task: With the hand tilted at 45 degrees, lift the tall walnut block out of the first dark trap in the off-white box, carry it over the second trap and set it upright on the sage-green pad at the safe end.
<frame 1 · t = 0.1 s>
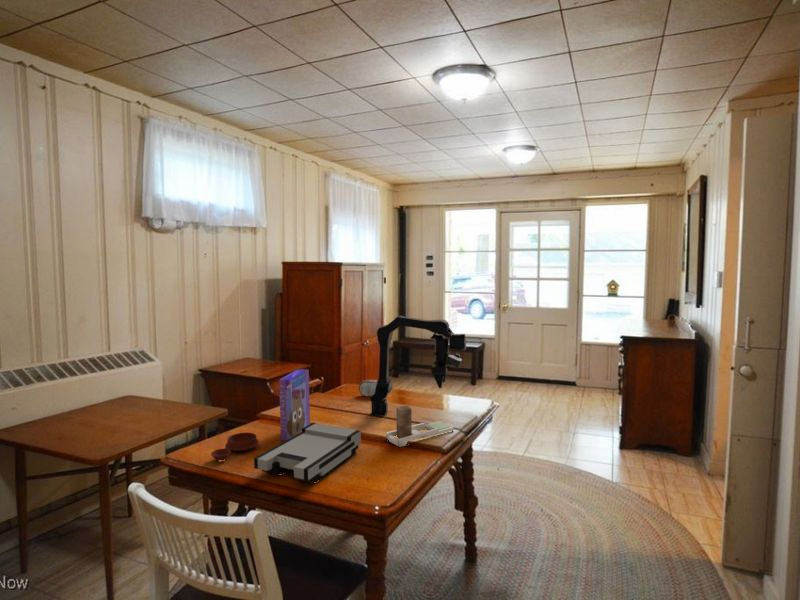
hand: (441, 385, 208), 15 cm above the table, tool pointing down, fingers open, 9 cm apart
pottery: (234, 453, 174), on the table
tin: (373, 396, 243), on the table
cereal box: (296, 433, 193), on the table
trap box: (421, 435, 189), on the table
game console: (311, 465, 164), on the table
walnut block: (404, 439, 184), resting on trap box
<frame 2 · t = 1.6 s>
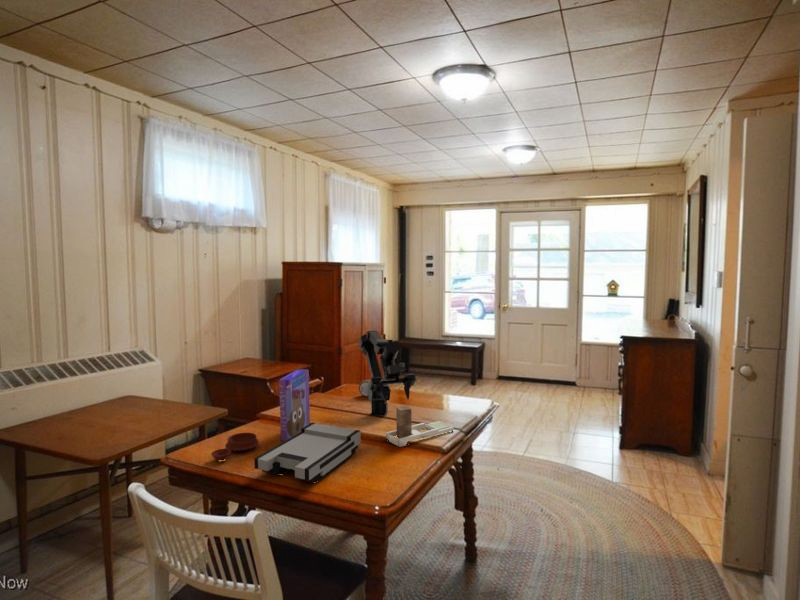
hand: (397, 400, 191), 13 cm above the table, tool tilted 45°, fingers open, 9 cm apart
nothing on the table moved.
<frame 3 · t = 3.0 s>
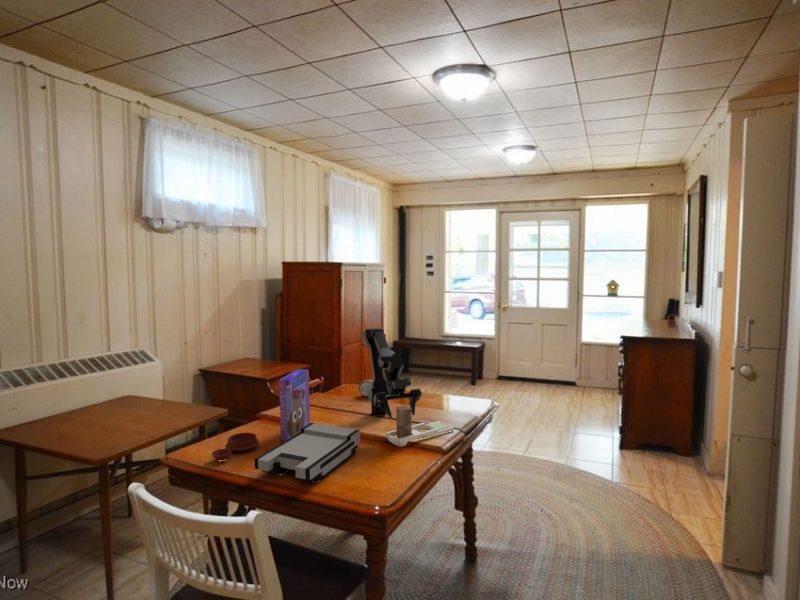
hand: (402, 416, 185), 9 cm above the table, tool tilted 45°, fingers open, 9 cm apart
nothing on the table moved.
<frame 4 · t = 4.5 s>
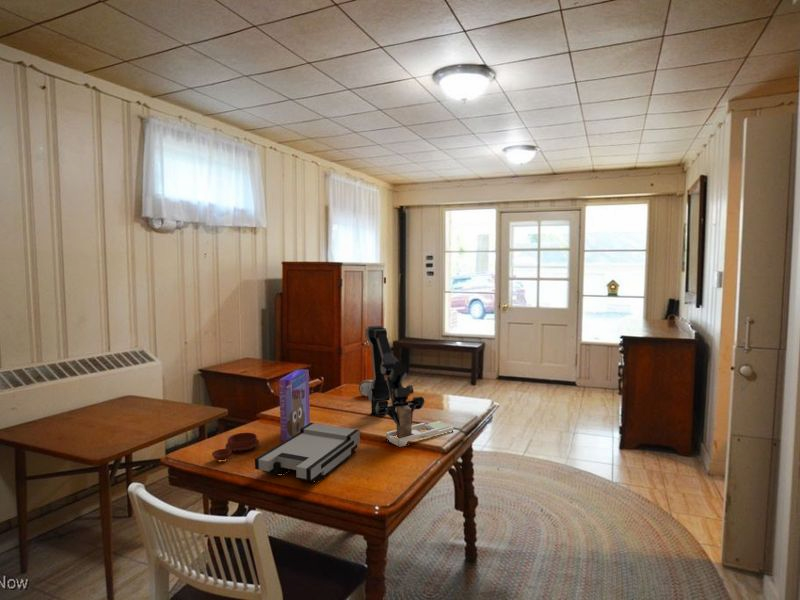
hand: (405, 425, 182), 7 cm above the table, tool tilted 45°, fingers closed on walnut block, 4 cm apart
walnut block: (404, 439, 184), resting on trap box, touching gripper
everything else where it was.
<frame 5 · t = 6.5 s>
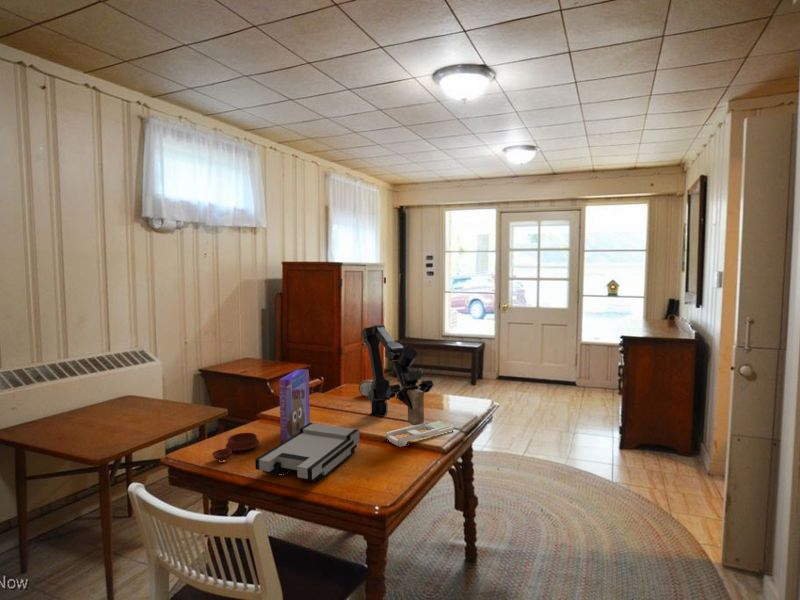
hand: (417, 408, 184), 12 cm above the table, tool tilted 45°, fingers closed on walnut block, 4 cm apart
walnut block: (415, 422, 186), point 6 cm above the table, touching gripper
everything else where it was.
when the fingers open (10 cm above the table, at t = 8.4 s): walnut block drops 1 cm, resting on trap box.
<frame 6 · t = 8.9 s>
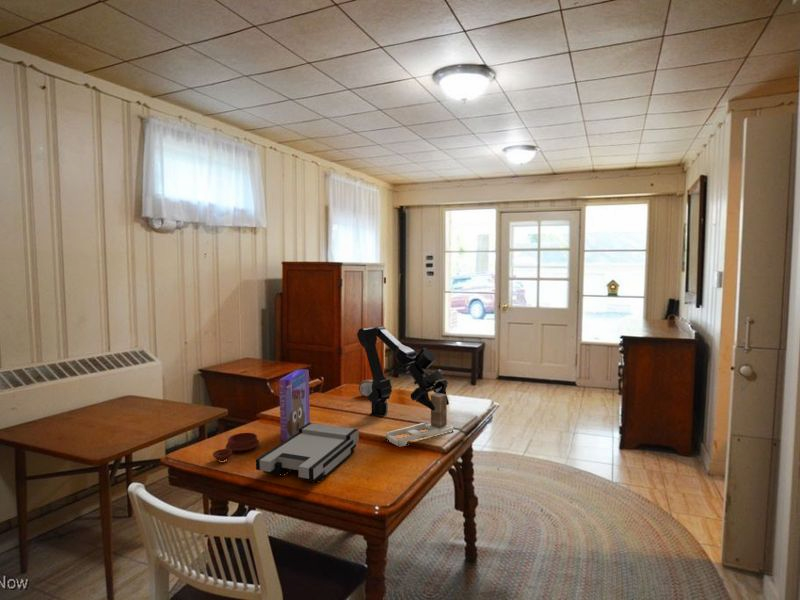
hand: (441, 407, 192), 10 cm above the table, tool tilted 45°, fingers open, 9 cm apart
walnut block: (438, 425, 194), point 2 cm above the table, touching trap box
everything else where it was.
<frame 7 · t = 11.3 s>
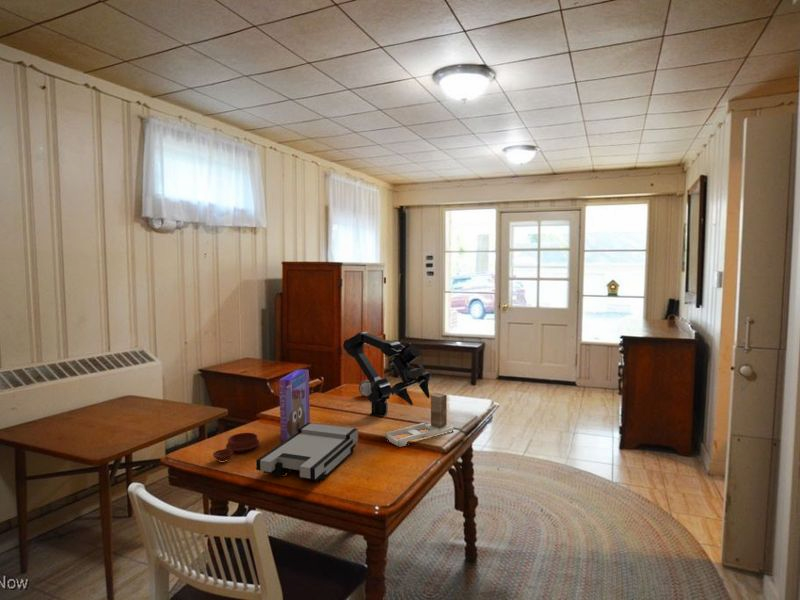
hand: (420, 401, 200), 10 cm above the table, tool tilted 35°, fingers open, 9 cm apart
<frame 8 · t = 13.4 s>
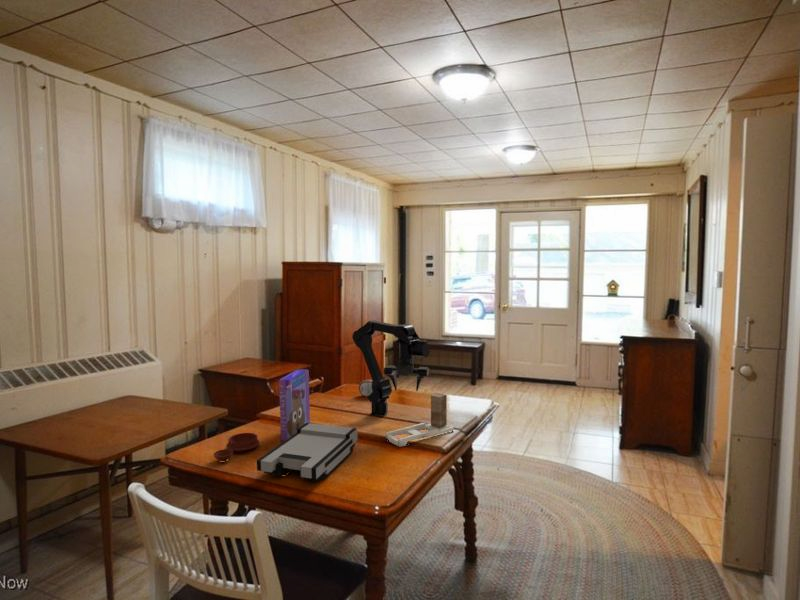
hand: (406, 390, 206), 13 cm above the table, tool pointing down, fingers open, 9 cm apart
at the end: walnut block inside the target area (0.1 cm from its centre), point 2.3 cm above the table; walnut block tilted 0°; the gripper is holding nothing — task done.
